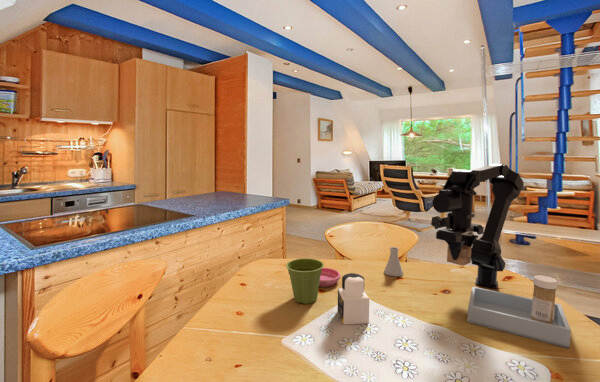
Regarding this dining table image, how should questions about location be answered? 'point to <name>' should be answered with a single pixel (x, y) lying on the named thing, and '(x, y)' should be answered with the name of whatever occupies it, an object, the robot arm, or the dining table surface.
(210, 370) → the dining table surface
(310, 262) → the plant pot
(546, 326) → the tray
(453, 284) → the dining table surface
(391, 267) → the flask
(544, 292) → the sprinkles bottle
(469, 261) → the walnut cube
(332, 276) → the saucer
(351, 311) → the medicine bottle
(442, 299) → the dining table surface
